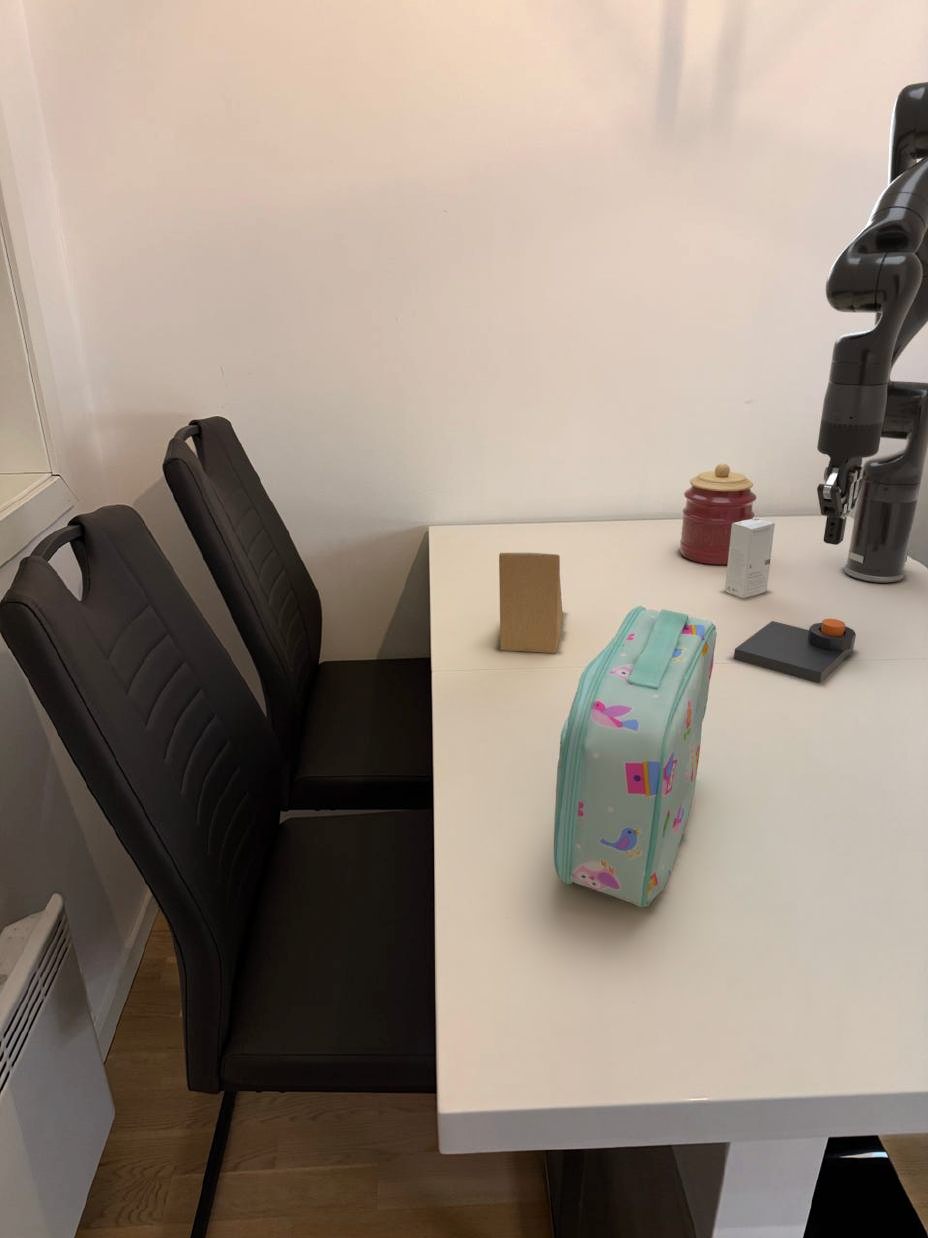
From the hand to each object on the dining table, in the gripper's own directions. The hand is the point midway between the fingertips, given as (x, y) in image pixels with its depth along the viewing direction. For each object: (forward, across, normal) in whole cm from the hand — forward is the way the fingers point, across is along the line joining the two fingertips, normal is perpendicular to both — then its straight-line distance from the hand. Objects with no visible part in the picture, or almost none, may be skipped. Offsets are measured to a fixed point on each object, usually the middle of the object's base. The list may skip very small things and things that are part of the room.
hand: (832, 542), depth 117 cm
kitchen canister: (+16, +28, +30) cm, 44 cm away
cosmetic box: (+16, +13, +17) cm, 26 cm away
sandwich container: (+15, -23, +35) cm, 44 cm away
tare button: (+12, -3, -3) cm, 13 cm away
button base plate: (+15, -7, +1) cm, 17 cm away
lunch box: (+14, -57, -2) cm, 58 cm away
